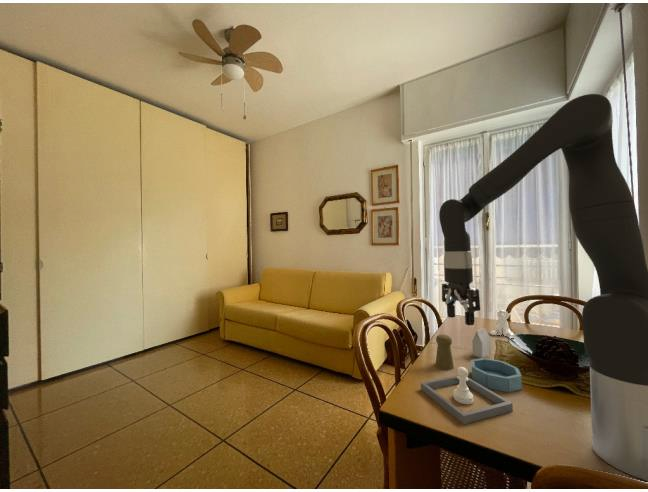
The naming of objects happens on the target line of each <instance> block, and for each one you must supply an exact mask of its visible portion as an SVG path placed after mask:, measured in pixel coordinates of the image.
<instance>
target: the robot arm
mask: <svg viewBox="0 0 648 492" xmlns="http://www.w3.org/2000/svg"><path fill="white" fill-rule="evenodd" d="M613 121H614V119H613V107H612V104H611V102H610V99H608V97H606V96H604V95H603V94H600V93H599V94H597V93H588V94H583V95H581V96H580V95H579V96H577V97H574V98H573V99H571V100H569V101H568V102H566V103H565V104H563V105H562V106H560V108H559V109H558V110H556V112H555V113H553V114H552V116H550V117H549V119H548V120H546V121H545V122H544V123H543V125H541V126H540V127H539V128H538V129H537V130H536V131H535V132H534V133H533V134H532V135H531V136H529V138H528V139H527V140H525V141H524V142H523V143H522V144H521V145H520V146H519V147H518V148H517V149H516V150H515V151H513V152H512V153H511V154H510V155H509V156H508V157H506V158H505V159H504V160H503V161H502V162H500V163H499V164H498V165H496V166H495V167H494V168H492V170H489V172H487V173H486V174H485V175H483V176H481V178H479V179H478V180H477V181H475V182H474V183H473V184H472V185H470V187H469V188H468V192H467V193H466V194H465V195H464V196H463V197H462V198H460V199H455V198H454V199H453V198H452V199H447V200H446V201H444V202H443V203H442V204H441V206H440V208H439V213H438V219H439V223H440V227H441V228H440V229H441V232H442V235H443V250H444V254H443V270H444V271H443V273H444V275H443V276H444V277H443V278H444V282H446V283H441V301H442V303H444V304H445V305H446V314H447V317H448V318H451V319H452V318H455V317H456V308H455V307H456V306H455V304H456V302H459V304H460V305H461V306H462V307H463V309H464V323H465V325H467V326H473V325H474V324H475V322H476V321H475V312H479V311H481V304H480V303H481V301H480V291H479V289H478V288H471V286H470V284H472V283H473V281H474V276H473V273H474V271H473V256H472V251H471V250H472V249H471V248H472V247H471V236H470V233H468V231H467V228H466V223H467V222H469V221H470V220H473V218H474V217H476V216H477V215H478V214H479V213H480V212H481V211H483V209H484V208H486V206H488V205H489V204H492V203H493V202H495V200H497V199H499V198H500V197H501V196H503V195H505V194H506V193H508V192H509V191H510V190H512V189H513V188H514V187H515V186H516V185H517V184H519V183H520V182H521V181H522V180H523V179H524V178H525V177H526V176H527V175H528V174H529V173H530V172H531V171H532V170H533V169H534V168H536V167H537V165H539V164H540V163H542V162H543V161H544V160H545V159H547V158H548V157H550V156H551V155H552V154H554V153H555V152H557V151H559V150H561V152H562V154H563V157H564V160H565V163H566V166H567V170H568V178H569V180H568V181H569V182H568V205H569V206H568V207H569V213H570V219H571V223H572V228H573V232H574V234H575V236H576V239H577V240H578V242H579V243H580V246H581V247H582V248H583V250H584V252H585V253H586V254H587V256H588V258H589V259H590V261H591V262H592V264H593V266H594V268H595V271H596V275H597V279H598V285H599V293H600V294H599V295H596V296H594V297H592V298H590V299H588V300H587V301H586V302H585V303H584V305H583V308H582V313H581V326H582V337H583V338H582V339H583V345H584V346H583V347H584V351H585V353H586V356H587V357H588V359H589V361H588V362H589V379H590V382H589V383H590V414H591V440H592V442H591V444H592V449H593V452H594V453H595V454H596V455H597V456H598V457H599V458H600V459H602V461H604V462H605V463H607V464H609V465H610V466H612V467H614V468H615V469H617V470H618V471H619V470H620V471H621V472H623V473H625V474H628V475H630V476H633V477H636V478H639V479H642V480H644V481H646V482H647V483H648V266H647V261H646V254H645V249H644V248H645V247H644V242H643V239H642V232H641V229H640V224H639V219H638V218H639V217H638V214H637V208H636V205H635V200H634V197H633V195H632V192H631V189H630V187H629V184H628V182H627V180H626V178H625V177H624V174H623V173H622V171H621V169H620V168H619V165H618V163H617V161H616V157H615V151H614V150H615V149H614V142H613V141H614V140H613V123H614V122H613ZM474 304H475V305H474Z"/></svg>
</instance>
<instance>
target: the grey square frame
mask: <svg viewBox="0 0 648 492" xmlns="http://www.w3.org/2000/svg"><path fill="white" fill-rule="evenodd" d="M457 376H458V374H456V375H452V376H448V377H443V378H442V377H441V378H437V379H433V380H432V379H431V380H426V381H423V382H420V390H421V391H422V392H423V393H425V394H426V395H427V396H428V397H430V398H431V399H432V400H434V402H436V403H437V404H439V406H441V407H442V408H443V409H444V410H446V411H447V412H448V413H449V414H450V415H452V416H453V417H454V418H455V419H457V420H458V421H459V422H460V423H462V424H463V425H466V424H470V423H475V422H477V421H480V420H485V419H488V418H492V417H497V416H500V415H503V414H507V413H510V412H513V410H514V409H513V402H511V401H509V400H508V399H506V398H504V397H502V396H501V395H499V394H497V393H496V392H494V391H492V390H491V389H490V388H487V387H485V386H483V385H481V384H480V383H478V382H476V381H474V380H473V379H472V378H470V377H468V376H467V378H468V381H466V385H467V387H468V388H471V389H472V390H473V391H475V392H478V394H480V395H482V396H483V397H485V398H487V399H489V400H490V401H492V402H493V403H495V404H492V405H488V406H484V407H480V408H476V409H473V410H469V411H466V412H465V411H464V412H463V411H462V410H461V409H460V408H458V407H457V405H454V404H453V403H452V402H450V401H449V400H448V399H446V398H445V397H444V396H443V395H441V394H440V393H439V392H438V391H436V390H434V389H439V388H443V387H448V386H449V387H450V386H454V385H459V382H460V380H459V379H458V378H457Z"/></svg>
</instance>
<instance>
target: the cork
mask: <svg viewBox="0 0 648 492" xmlns="http://www.w3.org/2000/svg"><path fill="white" fill-rule="evenodd" d="M435 340H436V343H437V347H436V348H437V349H436V357H435V366H436V367H437V368H438V369H440V370H447V371H452V370H454V362H453V361H454V360H453V353H452V348H451V345H452V344H453V340H452V338H451V336H449V335H448V334H438V335H436V338H435Z"/></svg>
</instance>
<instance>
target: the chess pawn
mask: <svg viewBox="0 0 648 492" xmlns="http://www.w3.org/2000/svg"><path fill="white" fill-rule="evenodd" d="M456 373H457V374H456V375H458V376H457V378H458V379H459V380H460V382H459V383H458V384H457V385H456V388H455V389H454V390H453V391H452V395H453V399H454V400H455V401H456V402H458V403H460V404H462V405H472V404H473V403H474V395H473V393H472V392H471V391H470V389H469V388H470V387H469V386H468V385H466V381H468V378H469V377H468V376H469V371H468V369H467V368H466V367H464V366H459V367H458V368H457V369H456ZM467 377H468V378H467Z"/></svg>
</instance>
